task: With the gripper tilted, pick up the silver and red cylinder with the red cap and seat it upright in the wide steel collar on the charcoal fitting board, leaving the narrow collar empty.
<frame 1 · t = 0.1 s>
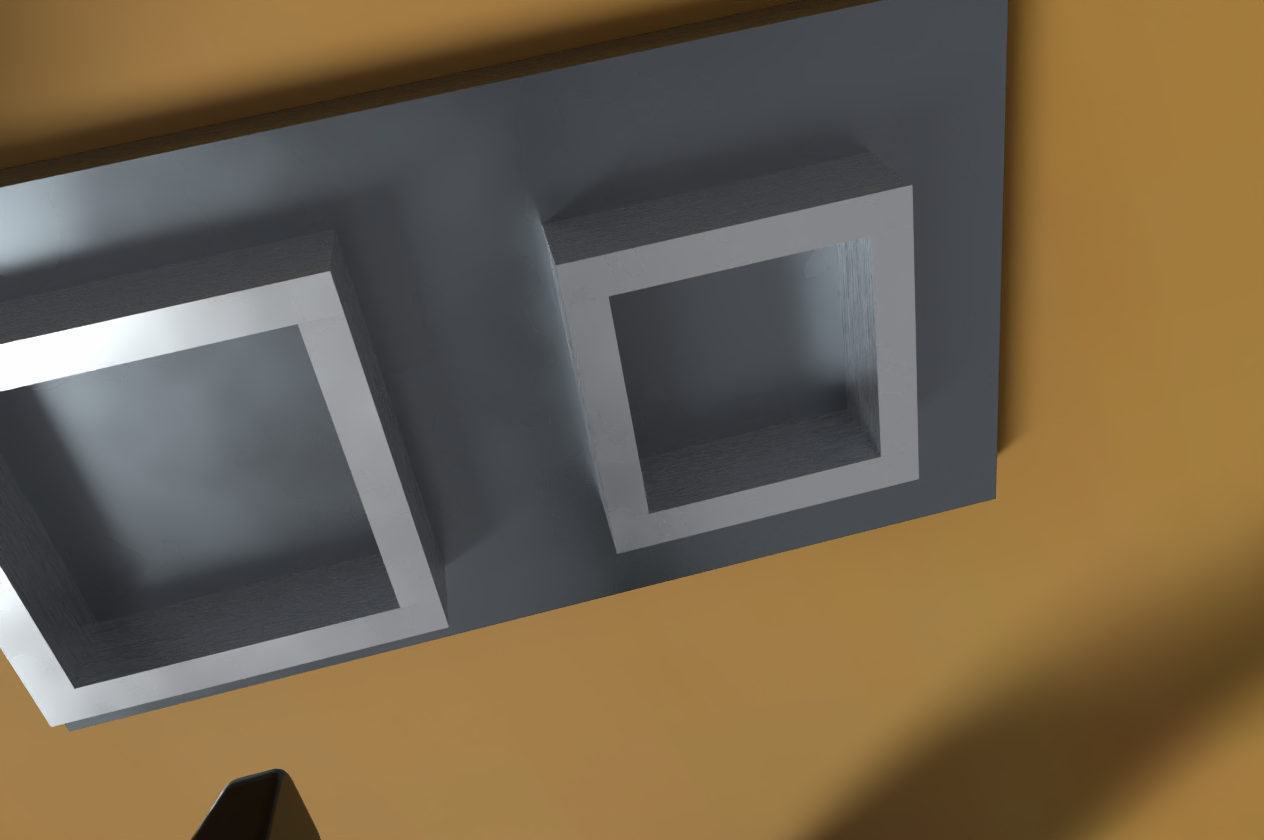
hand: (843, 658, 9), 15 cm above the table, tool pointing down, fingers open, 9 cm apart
fitting board: (485, 364, 23), on the table
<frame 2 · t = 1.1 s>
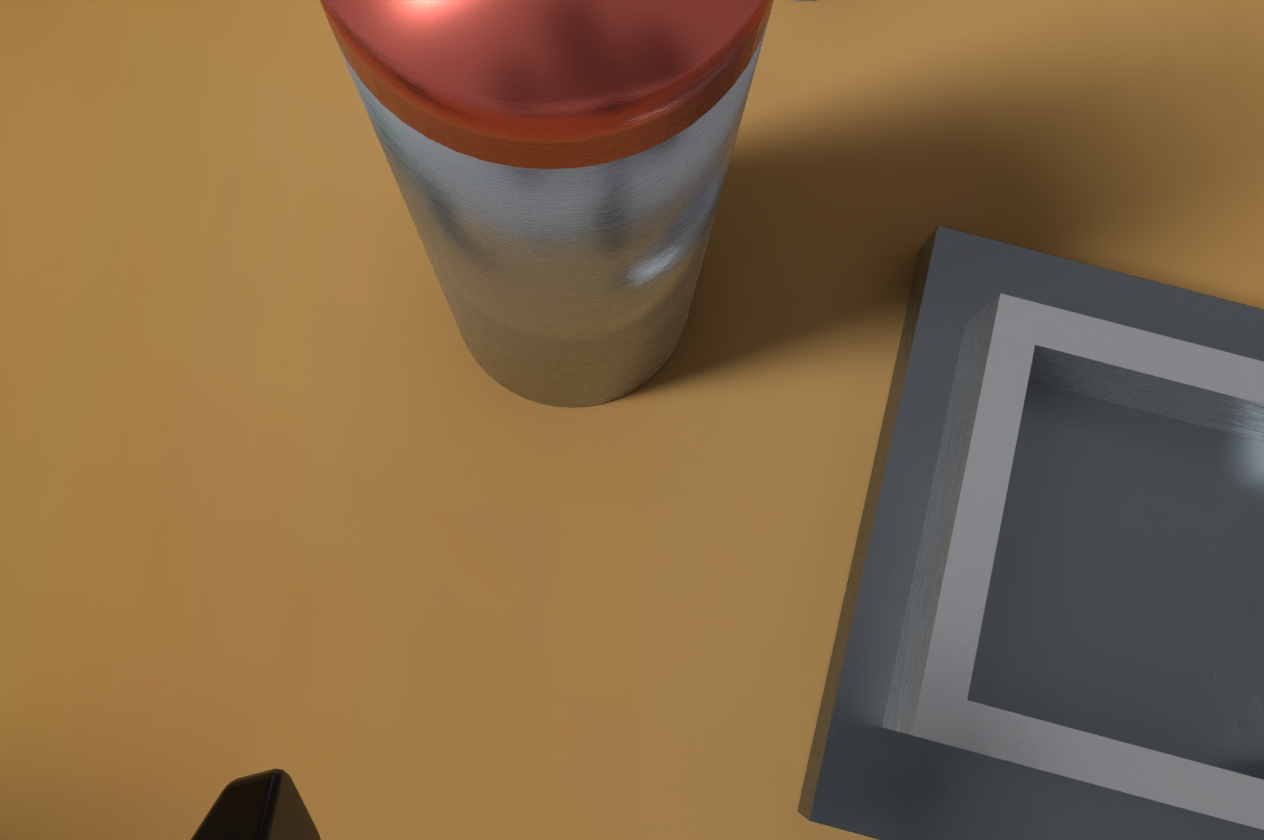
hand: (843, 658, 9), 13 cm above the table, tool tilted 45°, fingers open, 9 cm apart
silver and red cylinder: (572, 292, 23), on the table
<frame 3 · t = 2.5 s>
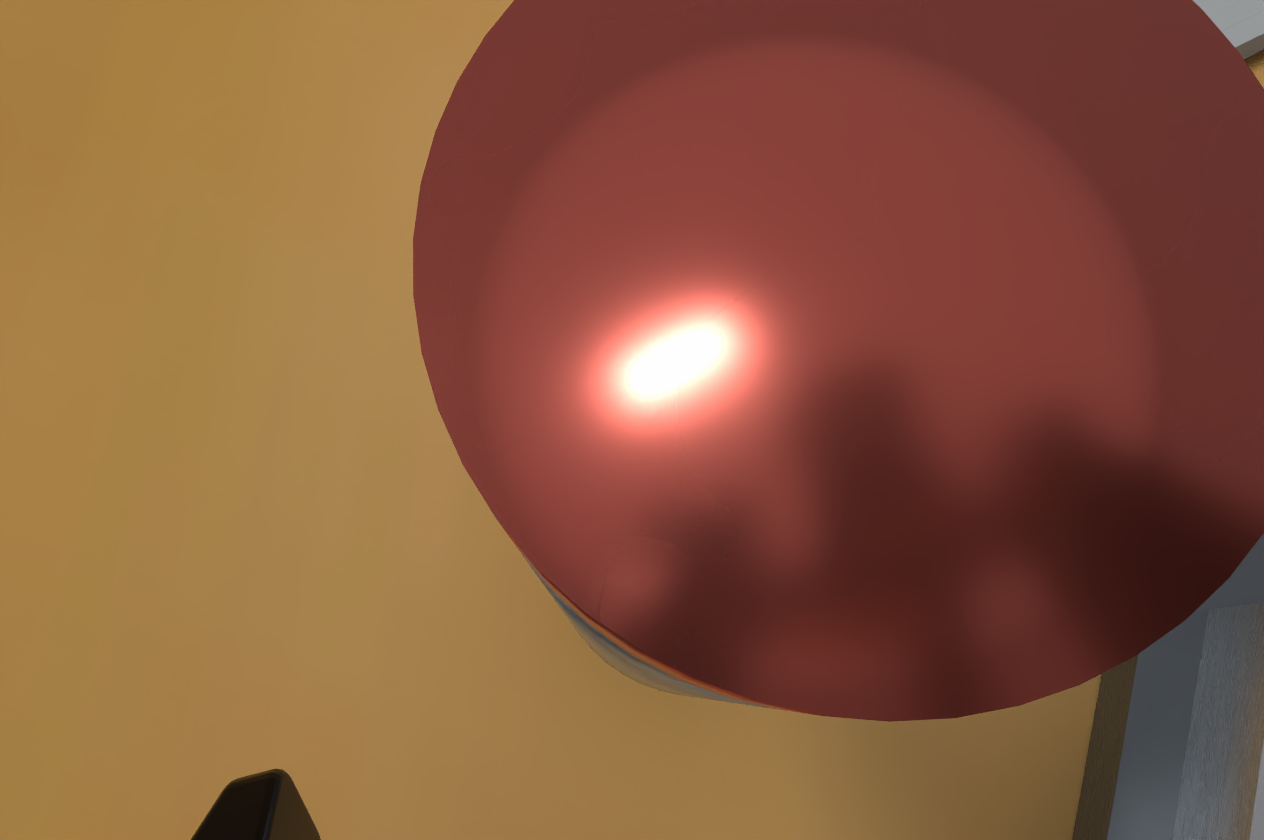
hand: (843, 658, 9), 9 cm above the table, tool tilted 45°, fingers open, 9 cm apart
silver and red cylinder: (698, 544, 19), on the table
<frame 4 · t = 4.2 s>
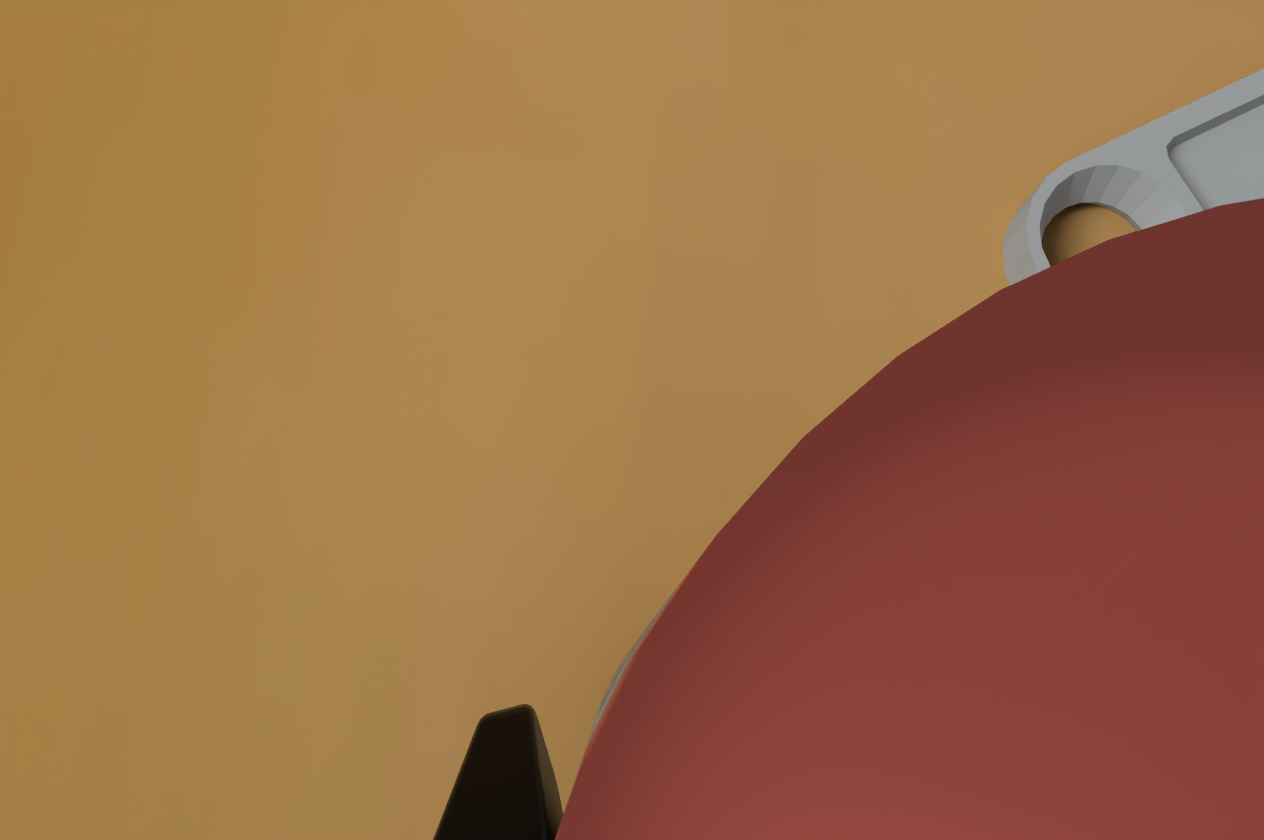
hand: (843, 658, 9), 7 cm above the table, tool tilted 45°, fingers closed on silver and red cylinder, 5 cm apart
silver and red cylinder: (772, 766, 15), on the table, touching gripper
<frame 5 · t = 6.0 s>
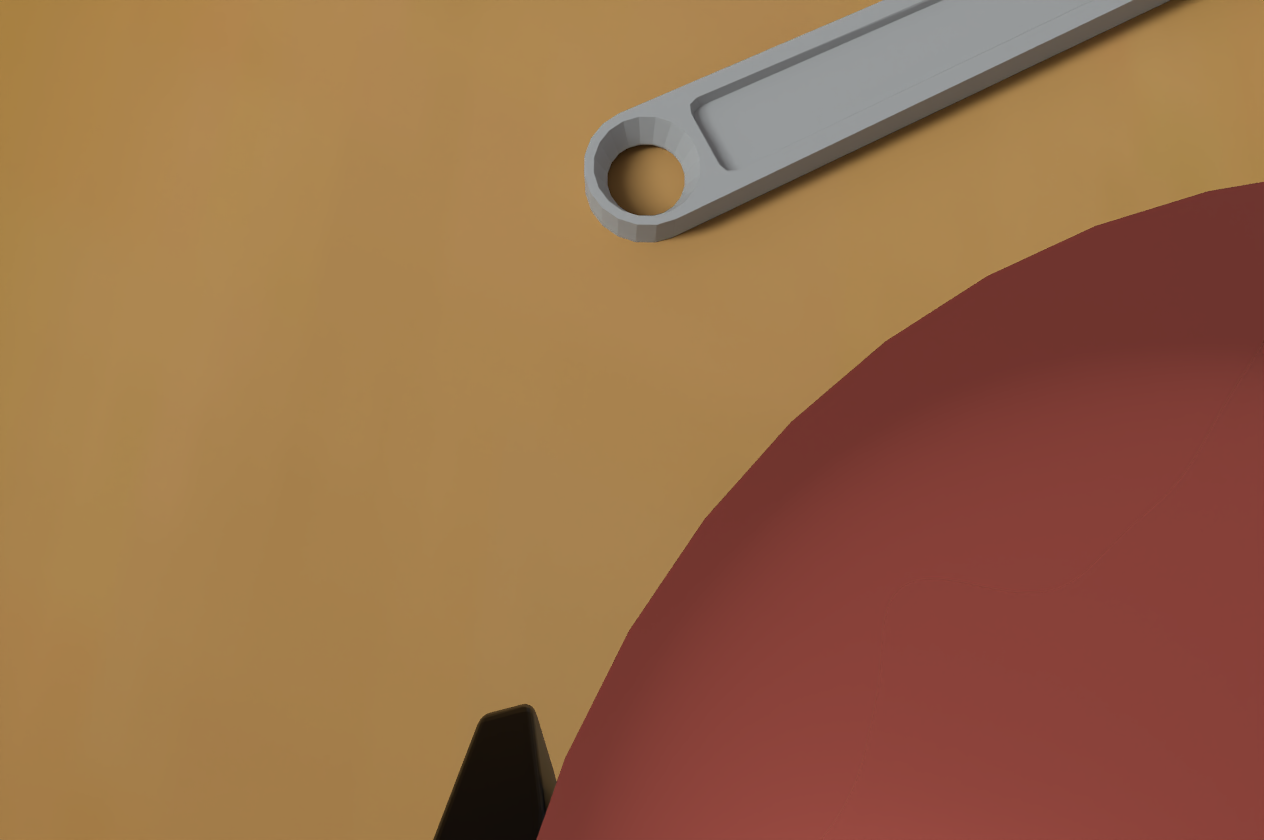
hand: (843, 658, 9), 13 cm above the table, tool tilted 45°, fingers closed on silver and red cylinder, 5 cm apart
silver and red cylinder: (770, 764, 15), point 6 cm above the table, touching gripper
when the fingers open (8 cm above the table, at t = 7.9 s): silver and red cylinder stays where it is, resting on fitting board.
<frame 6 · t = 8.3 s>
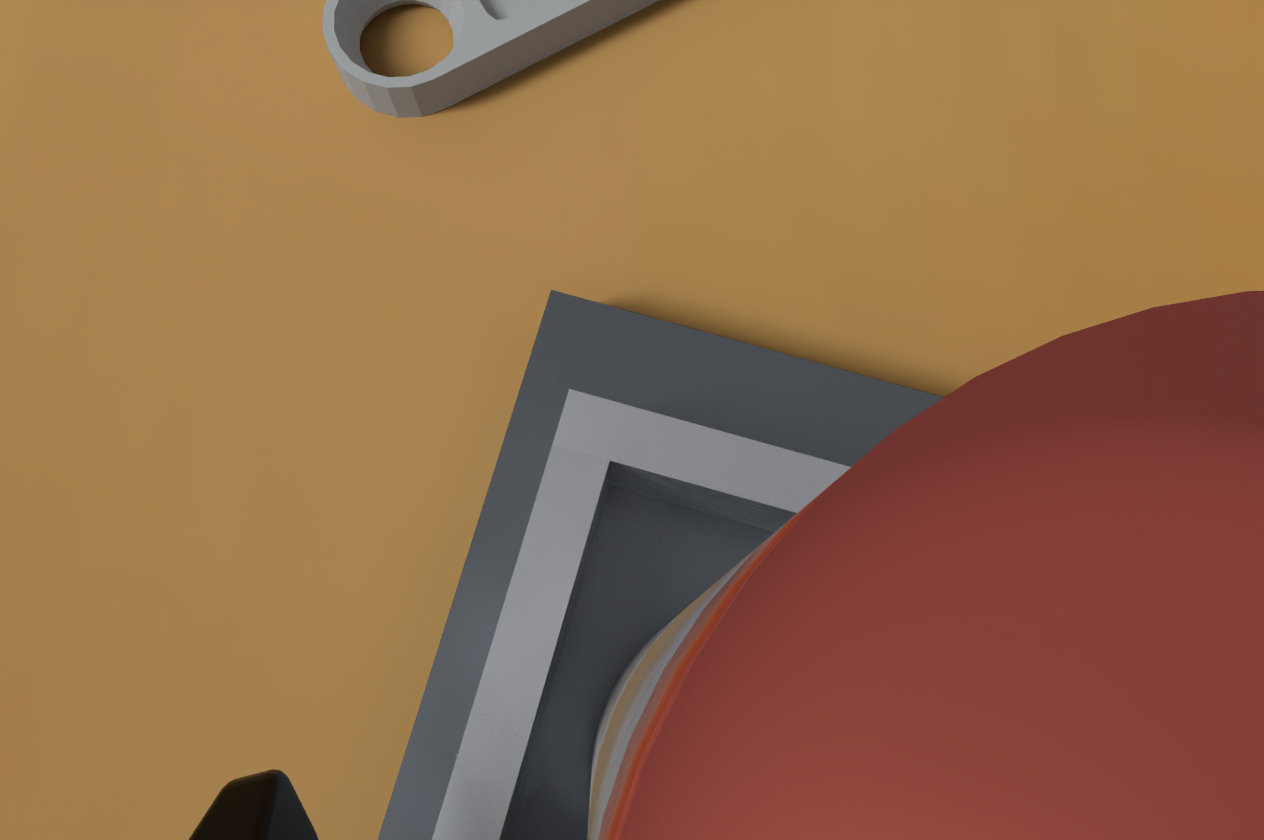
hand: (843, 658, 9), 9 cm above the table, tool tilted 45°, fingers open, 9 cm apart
silver and red cylinder: (766, 772, 16), point 1 cm above the table, touching fitting board
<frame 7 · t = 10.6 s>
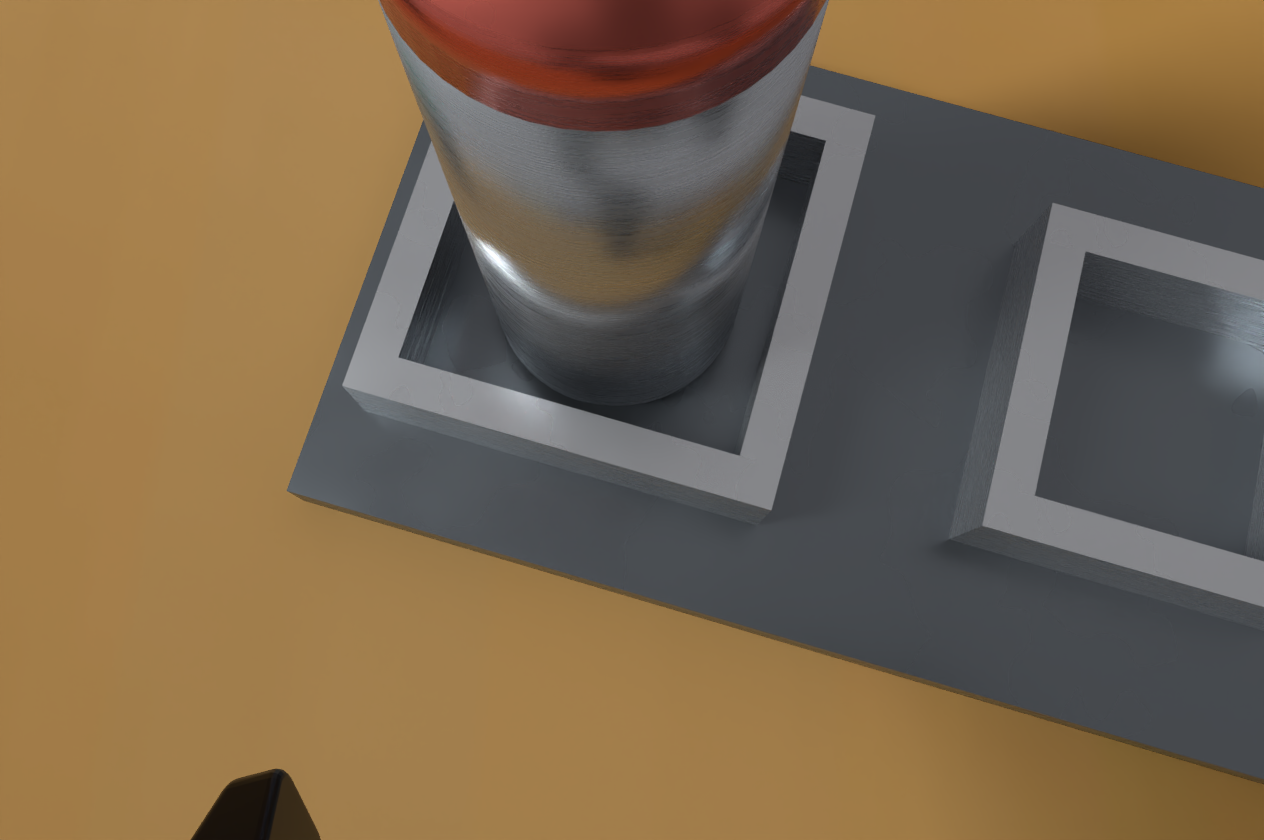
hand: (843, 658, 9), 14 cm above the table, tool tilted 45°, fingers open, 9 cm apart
fitting board: (885, 378, 24), on the table
silver and red cylinder: (617, 288, 23), point 1 cm above the table, touching fitting board
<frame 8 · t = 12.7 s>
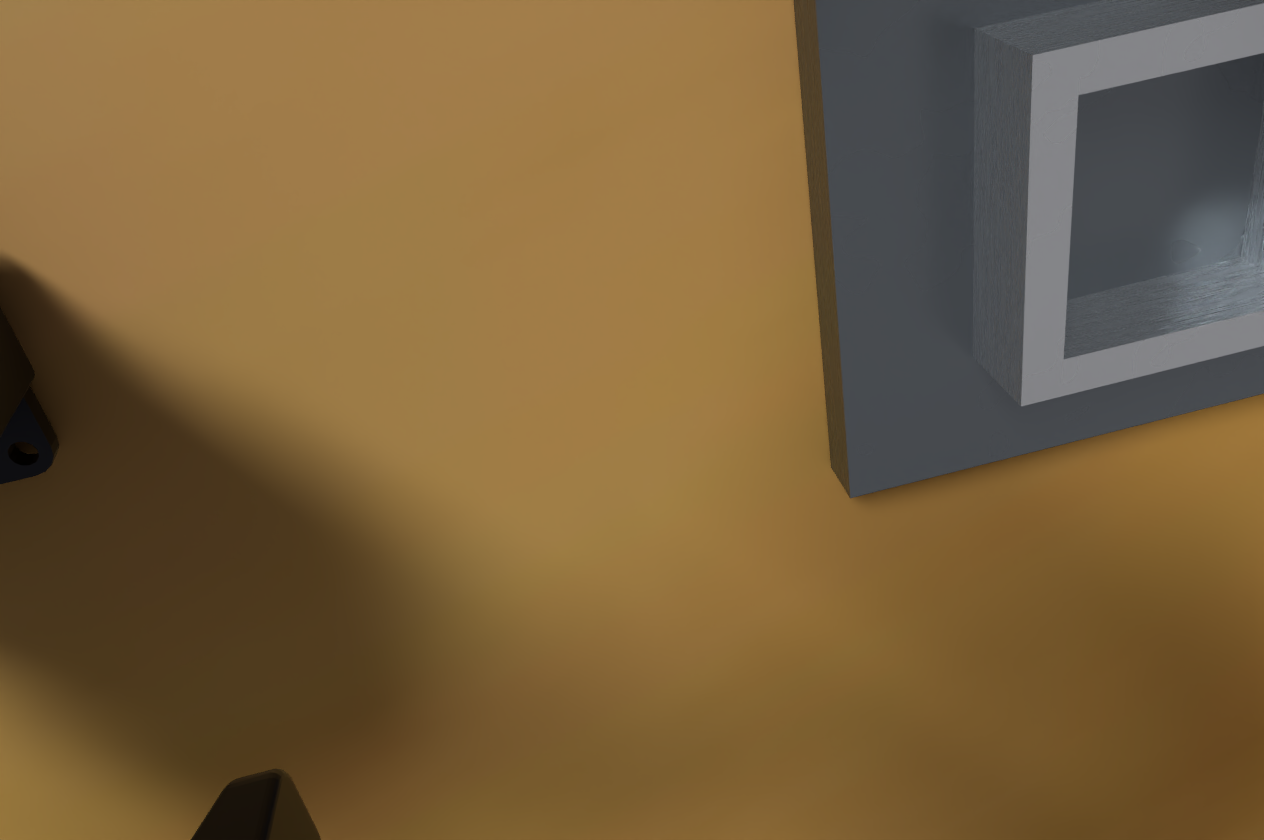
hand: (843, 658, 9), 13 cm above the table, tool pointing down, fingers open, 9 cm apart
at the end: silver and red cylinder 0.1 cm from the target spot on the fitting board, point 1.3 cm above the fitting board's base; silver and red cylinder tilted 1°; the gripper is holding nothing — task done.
